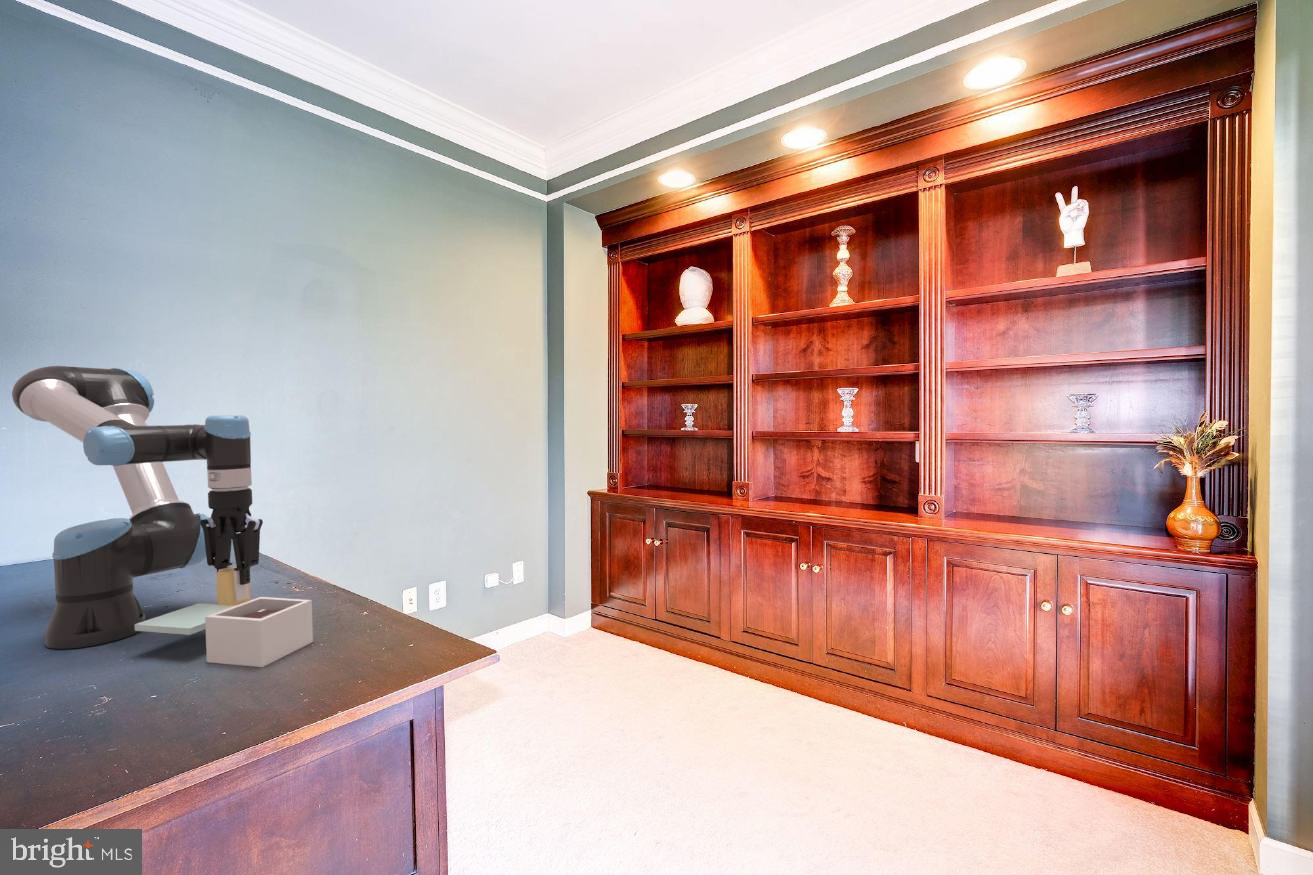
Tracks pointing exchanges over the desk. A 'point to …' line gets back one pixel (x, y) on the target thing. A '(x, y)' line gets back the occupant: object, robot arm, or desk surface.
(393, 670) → the desk surface
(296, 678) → the desk surface
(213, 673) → the desk surface
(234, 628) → the tub
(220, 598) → the lid
